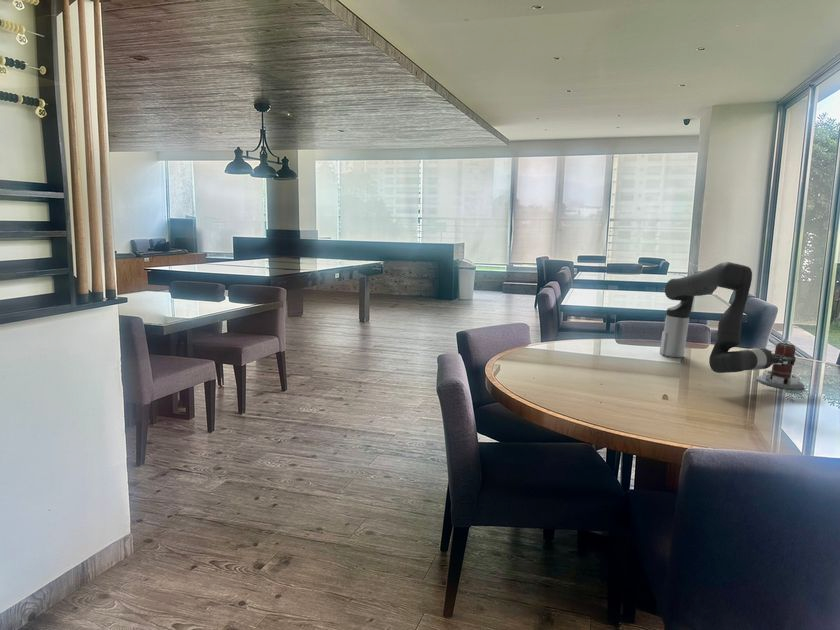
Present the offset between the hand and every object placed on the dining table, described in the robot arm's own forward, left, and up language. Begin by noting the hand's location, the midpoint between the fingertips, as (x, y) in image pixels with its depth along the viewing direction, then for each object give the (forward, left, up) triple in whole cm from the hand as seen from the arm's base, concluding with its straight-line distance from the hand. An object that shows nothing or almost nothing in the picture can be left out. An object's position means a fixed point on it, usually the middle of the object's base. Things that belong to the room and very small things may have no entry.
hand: (781, 356), depth 210 cm
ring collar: (+1, +1, -11) cm, 11 cm away
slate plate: (+1, +1, -11) cm, 11 cm away
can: (+1, 0, -10) cm, 10 cm away
